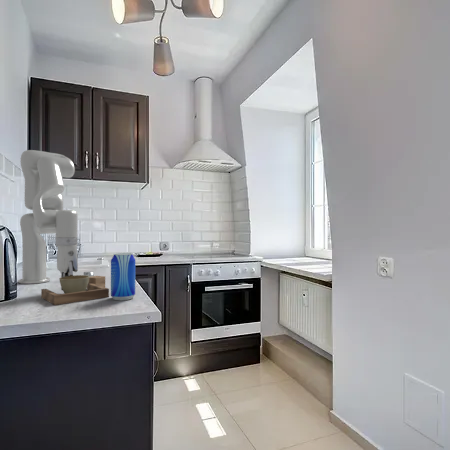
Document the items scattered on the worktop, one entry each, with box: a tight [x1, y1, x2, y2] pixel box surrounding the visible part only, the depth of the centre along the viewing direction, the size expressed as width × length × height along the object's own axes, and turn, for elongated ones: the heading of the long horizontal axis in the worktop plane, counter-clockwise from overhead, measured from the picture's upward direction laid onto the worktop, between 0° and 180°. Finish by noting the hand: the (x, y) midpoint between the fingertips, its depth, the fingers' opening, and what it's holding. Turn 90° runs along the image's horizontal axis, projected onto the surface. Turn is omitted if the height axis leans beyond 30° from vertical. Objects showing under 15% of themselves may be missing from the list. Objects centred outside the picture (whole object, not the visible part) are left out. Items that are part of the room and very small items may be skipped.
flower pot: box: [59, 274, 89, 294], centre depth 121 cm, size 10×10×7 cm
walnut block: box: [86, 275, 106, 290], centre depth 136 cm, size 5×5×5 cm
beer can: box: [110, 252, 136, 301], centre depth 118 cm, size 8×8×16 cm
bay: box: [40, 283, 110, 306], centre depth 120 cm, size 16×18×3 cm
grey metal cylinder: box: [83, 271, 95, 277], centre depth 141 cm, size 4×4×6 cm
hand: (66, 290), depth 126 cm, fingers closed
